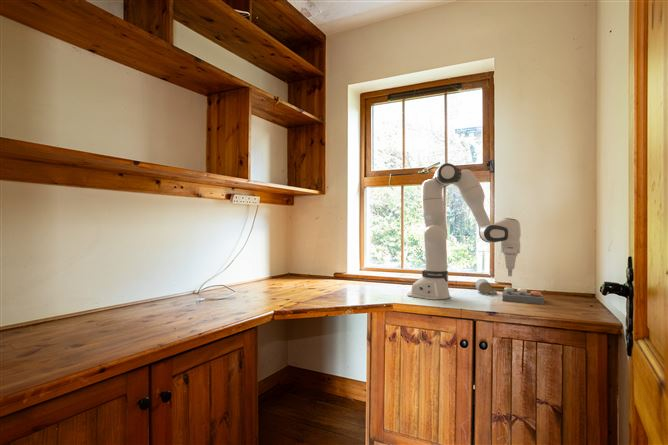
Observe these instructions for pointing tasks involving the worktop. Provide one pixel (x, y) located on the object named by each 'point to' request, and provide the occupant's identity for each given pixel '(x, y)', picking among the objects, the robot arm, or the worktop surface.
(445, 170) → the robot arm
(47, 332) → the worktop surface
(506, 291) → the sage button
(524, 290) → the ivory button
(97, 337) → the worktop surface
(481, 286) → the ceramic mug
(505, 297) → the button panel
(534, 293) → the terracotta button
